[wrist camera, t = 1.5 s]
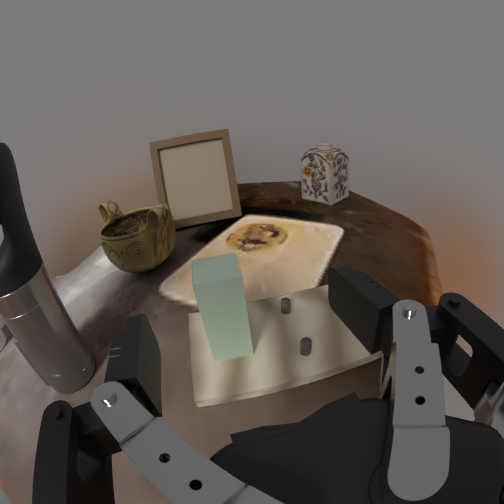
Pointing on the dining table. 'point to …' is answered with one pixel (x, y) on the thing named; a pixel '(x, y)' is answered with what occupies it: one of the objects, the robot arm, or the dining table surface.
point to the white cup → (2, 339)
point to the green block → (222, 306)
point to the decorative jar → (325, 174)
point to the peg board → (277, 349)
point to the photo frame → (196, 177)
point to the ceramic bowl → (137, 236)
